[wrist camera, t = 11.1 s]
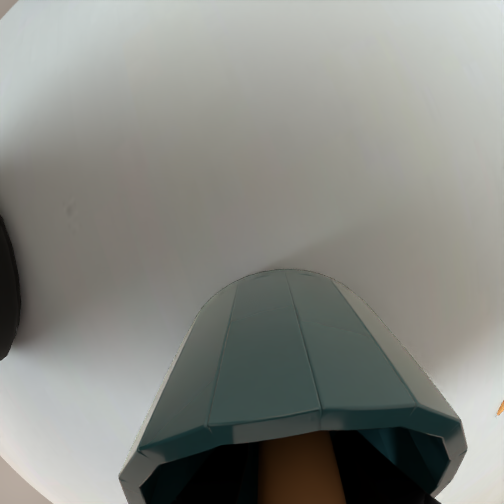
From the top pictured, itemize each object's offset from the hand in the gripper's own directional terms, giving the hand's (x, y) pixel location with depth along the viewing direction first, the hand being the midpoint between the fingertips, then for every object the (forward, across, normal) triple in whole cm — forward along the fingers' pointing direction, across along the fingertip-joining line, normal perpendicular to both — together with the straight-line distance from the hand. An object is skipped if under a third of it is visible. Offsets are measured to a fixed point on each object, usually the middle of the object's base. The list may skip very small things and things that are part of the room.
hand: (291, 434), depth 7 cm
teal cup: (+4, 0, 0) cm, 4 cm away
